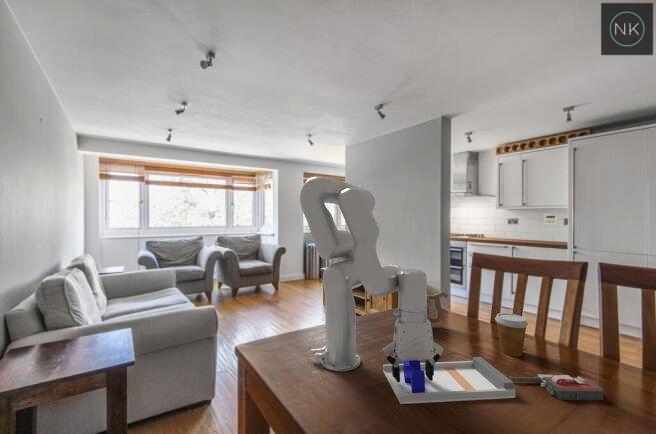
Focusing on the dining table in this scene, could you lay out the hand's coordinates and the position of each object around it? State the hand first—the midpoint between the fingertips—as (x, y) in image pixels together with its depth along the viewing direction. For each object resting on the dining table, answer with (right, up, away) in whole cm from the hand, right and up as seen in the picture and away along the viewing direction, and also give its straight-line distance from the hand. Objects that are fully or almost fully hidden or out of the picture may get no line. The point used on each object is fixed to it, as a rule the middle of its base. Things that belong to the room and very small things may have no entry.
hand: (413, 378), depth 81 cm
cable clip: (0, -2, 0) cm, 2 cm away
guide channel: (+9, -2, +1) cm, 9 cm away
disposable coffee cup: (+39, -2, +20) cm, 44 cm away
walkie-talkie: (+38, -2, -2) cm, 38 cm away
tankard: (+17, -2, +43) cm, 47 cm away
